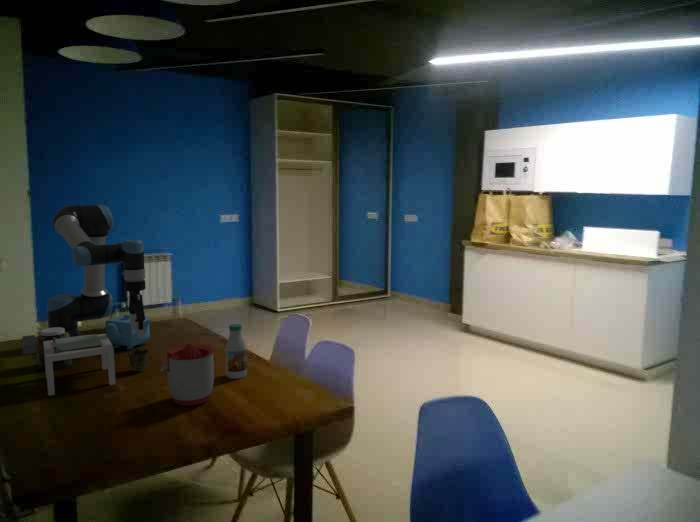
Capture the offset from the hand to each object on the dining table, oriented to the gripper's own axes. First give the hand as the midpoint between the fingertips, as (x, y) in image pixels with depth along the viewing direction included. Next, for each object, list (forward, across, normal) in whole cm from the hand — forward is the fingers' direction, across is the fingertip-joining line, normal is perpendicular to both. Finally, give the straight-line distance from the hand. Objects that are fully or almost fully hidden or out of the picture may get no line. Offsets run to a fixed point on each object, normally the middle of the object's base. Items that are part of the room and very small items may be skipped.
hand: (137, 333), depth 209 cm
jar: (+15, -24, -28) cm, 40 cm away
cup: (+15, 0, 0) cm, 15 cm away
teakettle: (+15, -38, +3) cm, 41 cm away
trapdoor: (+1, 0, -26) cm, 26 cm away
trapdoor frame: (+15, 0, -21) cm, 26 cm away
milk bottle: (+16, +25, +31) cm, 42 cm away
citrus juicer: (+16, +40, +9) cm, 44 cm away
